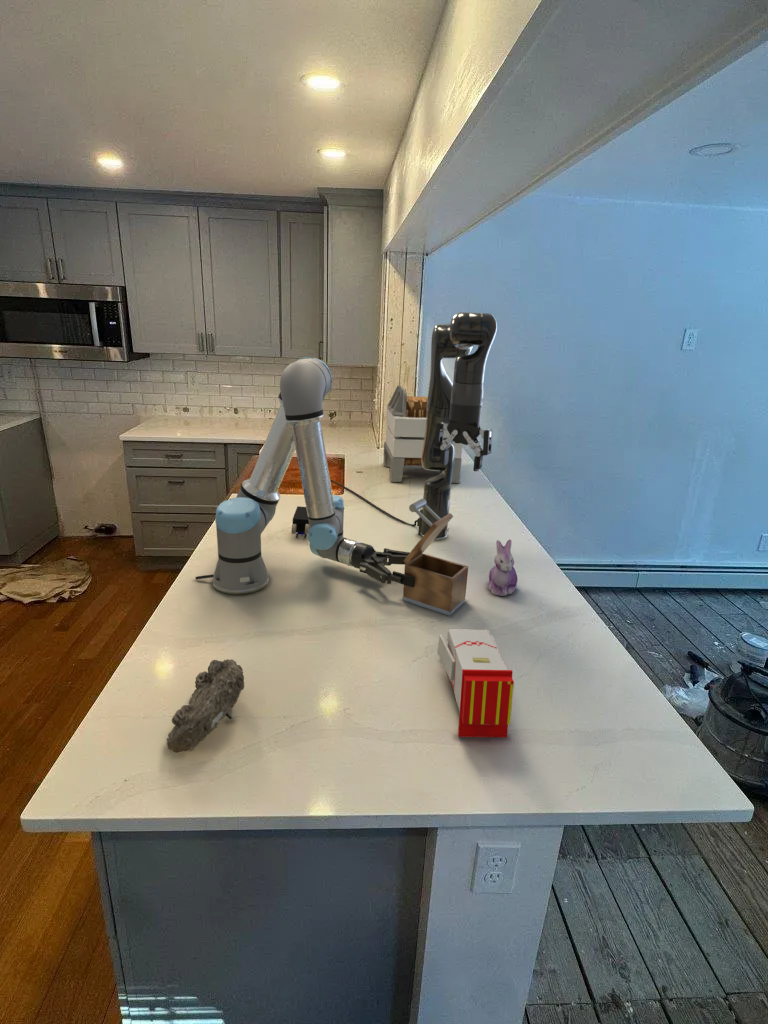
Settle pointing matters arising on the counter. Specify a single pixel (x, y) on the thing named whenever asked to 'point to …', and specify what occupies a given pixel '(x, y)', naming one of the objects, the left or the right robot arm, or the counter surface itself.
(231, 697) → the fossil
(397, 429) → the transformer
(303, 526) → the figurine character
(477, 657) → the toy
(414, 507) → the lid
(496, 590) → the figurine
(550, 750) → the counter surface
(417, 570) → the chest
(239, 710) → the counter surface
